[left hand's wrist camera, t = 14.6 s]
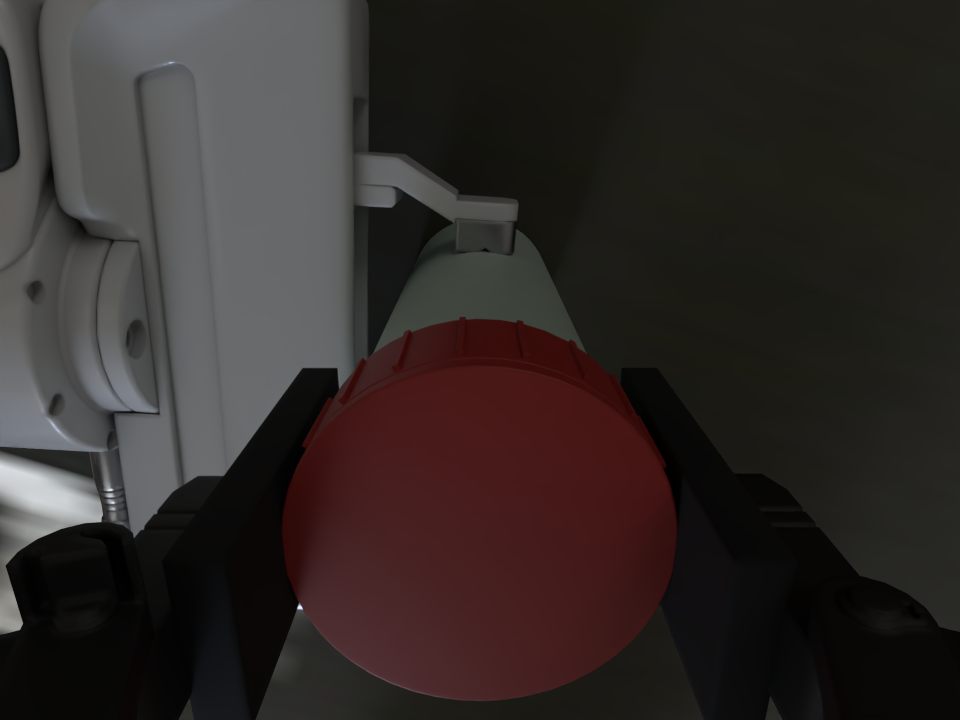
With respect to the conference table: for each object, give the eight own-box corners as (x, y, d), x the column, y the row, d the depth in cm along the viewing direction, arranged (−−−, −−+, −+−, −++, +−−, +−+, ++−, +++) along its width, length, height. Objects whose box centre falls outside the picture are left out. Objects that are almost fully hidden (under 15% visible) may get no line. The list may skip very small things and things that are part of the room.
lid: (705, 388, 12) (757, 450, 9) (562, 642, 14) (578, 744, 11) (375, 261, 11) (348, 296, 9) (275, 551, 13) (233, 640, 11)
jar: (513, 369, 28) (560, 700, 12) (392, 321, 27) (267, 604, 11) (570, 250, 26) (713, 450, 10) (441, 195, 25) (376, 316, 9)
